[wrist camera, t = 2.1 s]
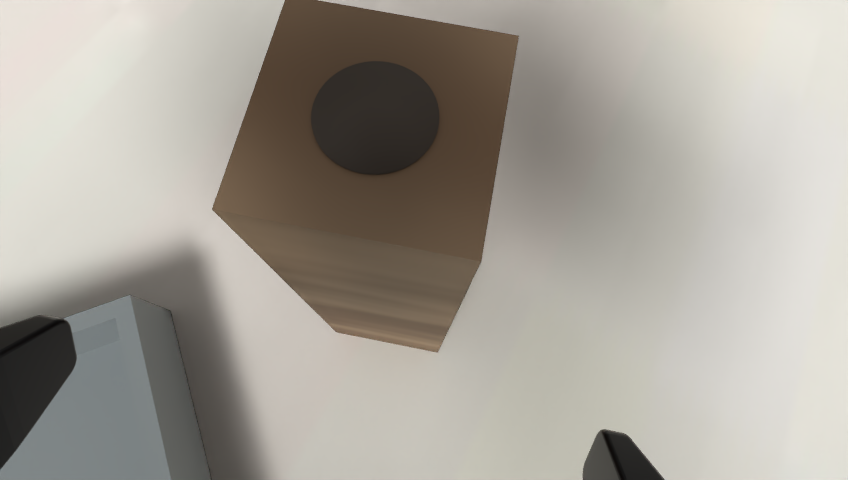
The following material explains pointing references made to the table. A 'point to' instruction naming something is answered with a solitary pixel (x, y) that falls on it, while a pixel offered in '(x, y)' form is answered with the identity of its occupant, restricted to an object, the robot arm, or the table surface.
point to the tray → (117, 405)
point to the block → (371, 165)
